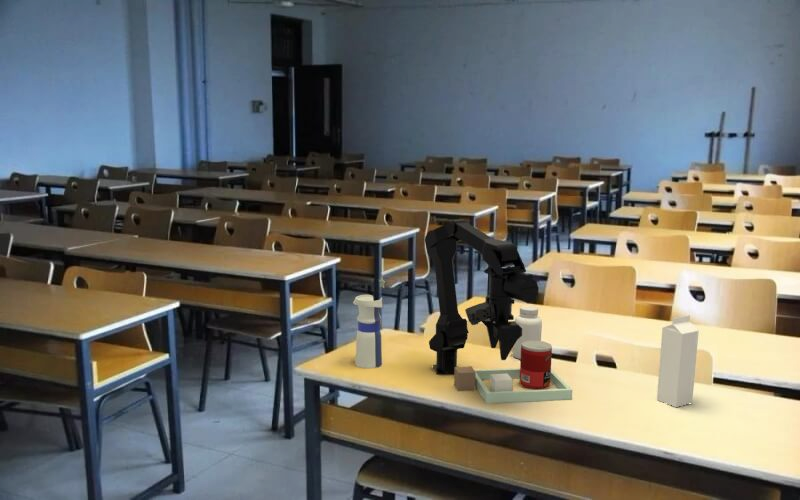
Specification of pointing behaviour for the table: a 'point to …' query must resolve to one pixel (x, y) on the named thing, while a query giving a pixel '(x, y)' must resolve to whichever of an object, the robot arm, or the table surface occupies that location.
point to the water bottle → (369, 331)
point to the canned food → (535, 364)
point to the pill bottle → (527, 327)
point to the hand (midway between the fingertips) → (498, 353)
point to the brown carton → (464, 378)
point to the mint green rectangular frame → (520, 396)
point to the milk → (677, 362)
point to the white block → (500, 382)
